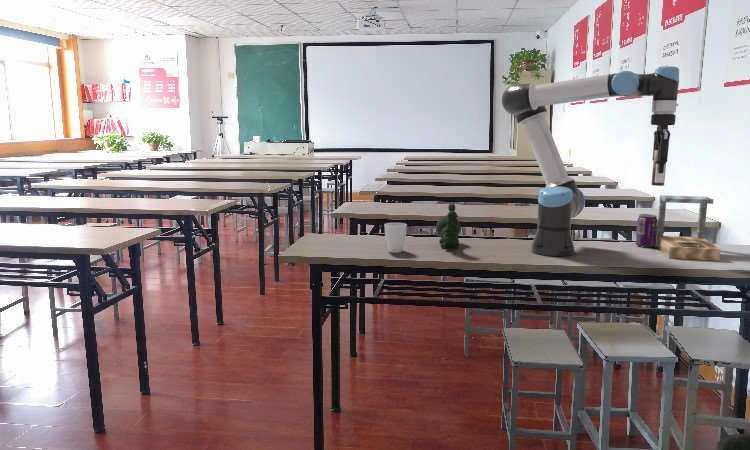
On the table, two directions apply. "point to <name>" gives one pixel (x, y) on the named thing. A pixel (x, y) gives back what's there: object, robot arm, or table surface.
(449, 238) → the toy figurine
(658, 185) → the peg
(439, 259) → the table surface
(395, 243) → the cup
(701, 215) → the socket station
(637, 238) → the beverage can
